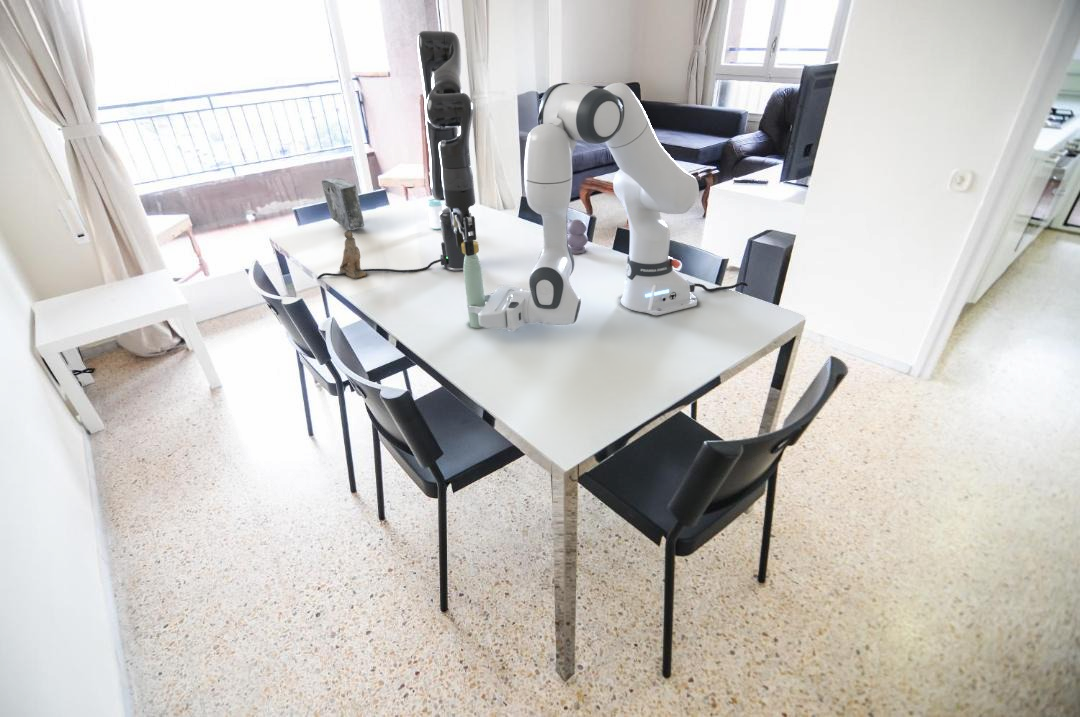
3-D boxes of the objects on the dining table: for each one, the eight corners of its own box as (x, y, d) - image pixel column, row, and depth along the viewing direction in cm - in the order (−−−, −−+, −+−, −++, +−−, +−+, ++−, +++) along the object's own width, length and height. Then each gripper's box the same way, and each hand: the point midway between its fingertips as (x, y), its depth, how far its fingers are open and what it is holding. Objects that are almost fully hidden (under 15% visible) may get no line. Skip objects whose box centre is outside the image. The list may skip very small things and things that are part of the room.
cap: (477, 254, 128) (476, 245, 127) (460, 254, 129) (459, 246, 127) (479, 248, 132) (479, 240, 131) (463, 249, 132) (462, 240, 131)
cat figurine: (592, 250, 190) (592, 219, 184) (579, 256, 185) (579, 224, 179) (574, 246, 195) (575, 215, 189) (561, 251, 191) (561, 220, 184)
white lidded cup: (445, 229, 220) (441, 202, 214) (429, 230, 220) (425, 202, 214) (447, 224, 226) (444, 198, 220) (432, 225, 226) (428, 198, 220)
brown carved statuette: (368, 281, 178) (362, 235, 166) (353, 285, 175) (347, 238, 163) (352, 266, 184) (346, 221, 172) (338, 270, 181) (331, 224, 169)
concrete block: (369, 232, 221) (359, 185, 210) (349, 236, 216) (338, 189, 206) (350, 219, 239) (340, 176, 229) (331, 223, 235) (320, 179, 225)
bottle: (468, 328, 140) (458, 248, 128) (472, 320, 144) (462, 242, 132) (485, 328, 139) (477, 248, 127) (488, 320, 143) (480, 242, 131)
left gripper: (435, 181, 126) (444, 245, 134) (451, 193, 114) (460, 261, 123) (464, 178, 128) (470, 240, 137) (482, 189, 117) (488, 256, 126)
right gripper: (529, 281, 143) (483, 278, 145) (510, 312, 126) (459, 309, 128) (530, 301, 146) (485, 298, 149) (512, 334, 129) (462, 330, 132)
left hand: (465, 250), depth 130 cm, fingers open, 7 cm apart
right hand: (473, 303), depth 138 cm, fingers closed on bottle, 5 cm apart
